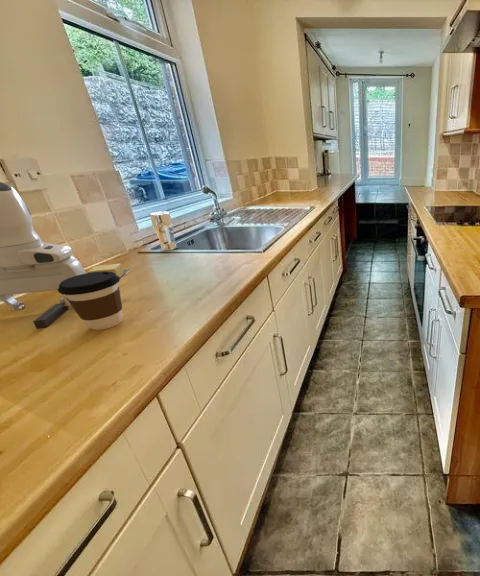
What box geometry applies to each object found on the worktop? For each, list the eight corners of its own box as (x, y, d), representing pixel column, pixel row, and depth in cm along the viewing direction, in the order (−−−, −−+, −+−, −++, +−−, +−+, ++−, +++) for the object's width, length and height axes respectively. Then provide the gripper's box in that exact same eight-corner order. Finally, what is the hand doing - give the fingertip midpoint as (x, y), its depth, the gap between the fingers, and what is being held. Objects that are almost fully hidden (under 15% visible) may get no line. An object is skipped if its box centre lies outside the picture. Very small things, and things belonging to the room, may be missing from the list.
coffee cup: (117, 310, 85) (100, 268, 80) (143, 317, 81) (128, 274, 76) (66, 330, 75) (44, 283, 70) (94, 339, 72) (73, 291, 67)
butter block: (91, 282, 98) (87, 271, 97) (99, 275, 103) (95, 265, 102) (118, 279, 101) (114, 268, 99) (124, 273, 105) (121, 263, 104)
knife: (46, 327, 77) (41, 316, 75) (36, 328, 76) (30, 317, 75) (88, 292, 95) (84, 283, 94) (79, 293, 94) (75, 284, 93)
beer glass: (182, 245, 140) (172, 211, 133) (173, 250, 133) (163, 214, 127) (165, 246, 139) (155, 211, 133) (156, 251, 133) (145, 215, 127)
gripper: (-54, 263, 68) (-22, 319, 74) (66, 254, 74) (87, 306, 80) (-31, 254, 73) (-2, 307, 79) (79, 247, 80) (98, 296, 85)
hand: (44, 307), depth 79 cm, fingers open, 8 cm apart
